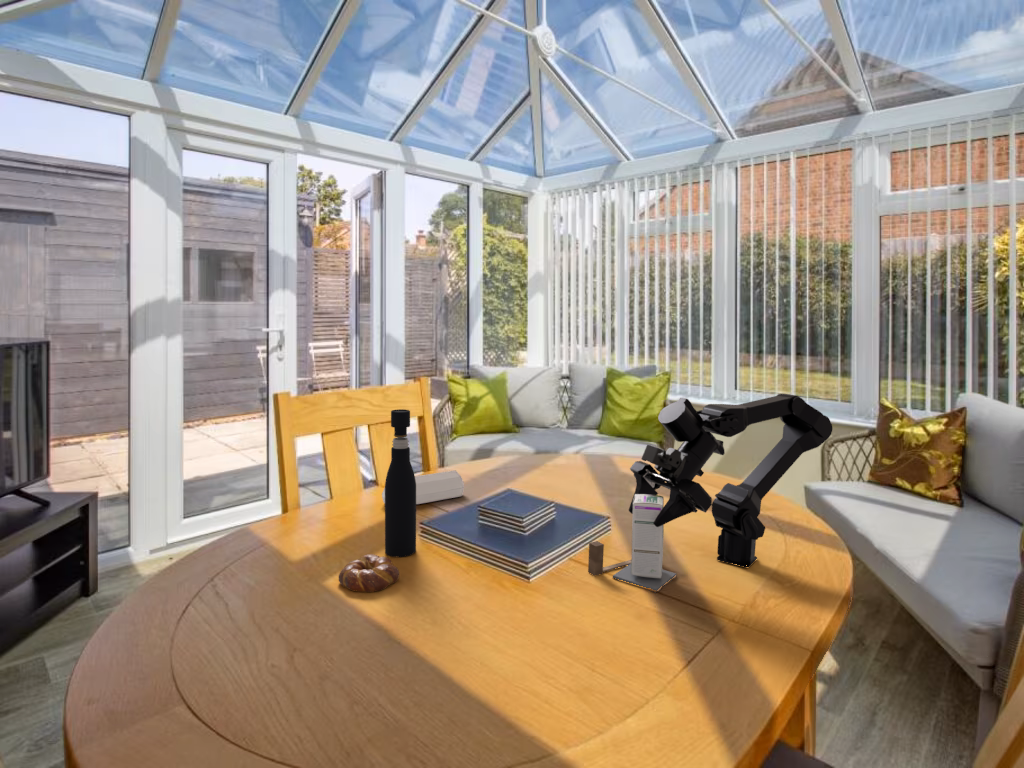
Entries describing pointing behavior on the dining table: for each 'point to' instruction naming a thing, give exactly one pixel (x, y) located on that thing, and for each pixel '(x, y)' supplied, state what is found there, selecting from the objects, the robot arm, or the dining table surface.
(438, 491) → the crystal
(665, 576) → the slate tile
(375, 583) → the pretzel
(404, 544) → the black water bottle
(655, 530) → the syrup box
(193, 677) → the dining table surface
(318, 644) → the dining table surface
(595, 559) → the gate
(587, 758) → the dining table surface
